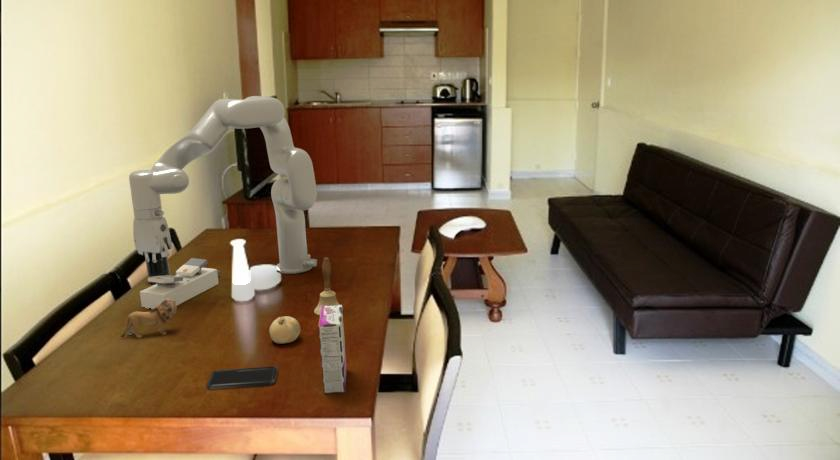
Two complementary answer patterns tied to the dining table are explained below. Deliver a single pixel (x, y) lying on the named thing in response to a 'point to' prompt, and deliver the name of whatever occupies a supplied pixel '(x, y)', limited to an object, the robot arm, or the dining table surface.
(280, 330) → the onion
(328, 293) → the hand bell
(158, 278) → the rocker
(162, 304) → the lion figurine
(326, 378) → the candy bar box
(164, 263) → the supplement bottle
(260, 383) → the phone
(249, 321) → the dining table surface
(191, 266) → the rocker
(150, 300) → the strip
